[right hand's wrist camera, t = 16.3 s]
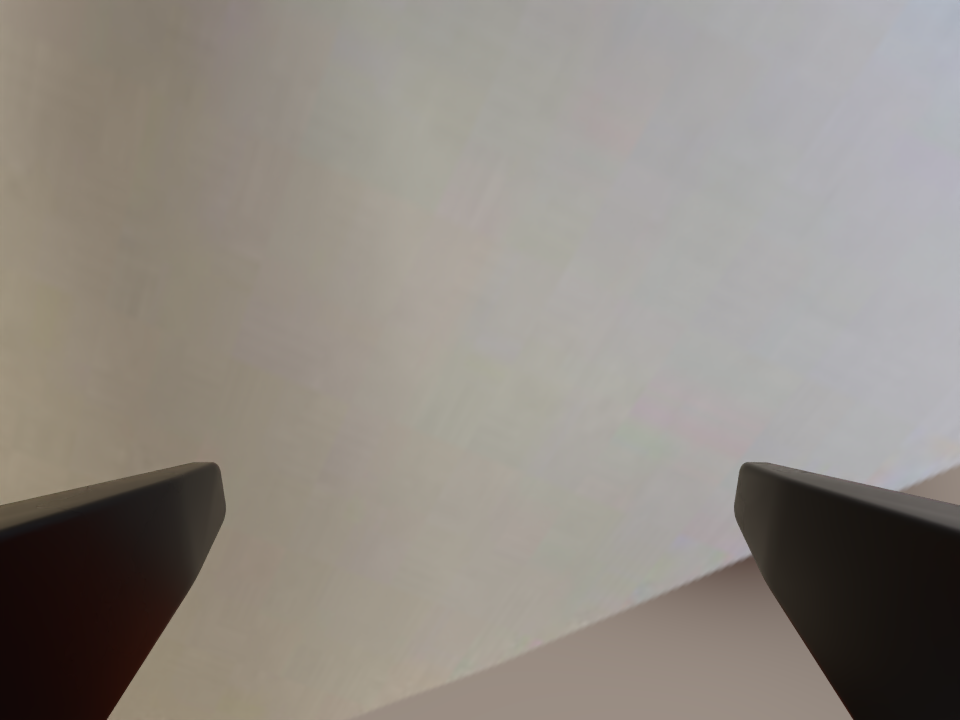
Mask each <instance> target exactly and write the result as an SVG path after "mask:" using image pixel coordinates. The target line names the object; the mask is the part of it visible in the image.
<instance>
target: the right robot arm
mask: <svg viewBox="0 0 960 720" xmlns="http://www.w3.org/2000/svg"><path fill="white" fill-rule="evenodd" d="M225 512H226V503H225V497H224V490H223V484H222V477H221V471H220V468H219V466H218V465H217V464H216V463H214V462H194V463H189V464H184V465H180V466H175V467H171V468H166V469H162V470H157V471H153V472H148V473H144V474H139V475H135V476H130V477H126V478H121V479H117V480H112V481H108V482H103V483H99V484H94V485H90V486H85V487H81V488H76V489H72V490H67V491H63V492H59V493H54V494H50V495H45V496H41V497H36V498H32V499H27V500H23V501H18V502H14V503H9V504H5V505H0V720H107V718H108V717H109V715H110V714H111V712H112V711H113V709H114V707H115V706H116V704H117V703H118V701H119V700H120V698H121V696H122V695H123V693H124V692H125V690H126V689H127V687H128V686H129V684H130V682H131V681H132V679H133V678H134V676H135V675H136V673H137V671H138V670H139V668H140V667H141V665H142V664H143V662H144V660H145V659H146V657H147V656H148V654H149V653H150V651H151V649H152V648H153V646H154V645H155V643H156V642H157V640H158V638H159V637H160V635H161V634H162V632H163V631H164V629H165V628H166V626H167V624H168V623H169V621H170V620H171V618H172V617H173V615H174V613H175V612H176V610H177V609H178V607H179V606H180V604H181V602H182V601H183V599H184V598H185V596H186V595H187V593H188V591H189V590H190V588H191V586H192V585H193V583H194V581H195V580H196V578H197V576H198V574H199V572H200V570H201V568H202V566H203V563H204V561H205V559H206V557H207V555H208V553H209V551H210V549H211V546H212V544H213V542H214V540H215V538H216V536H217V534H218V532H219V529H220V527H221V525H222V523H223V521H224V517H225ZM734 512H735V517H736V521H737V523H738V525H739V527H740V529H741V532H742V534H743V536H744V538H745V540H746V542H747V544H748V546H749V549H750V551H751V553H752V555H753V557H754V559H755V561H756V563H757V565H758V568H759V570H760V572H761V574H762V576H763V578H764V580H765V581H766V583H767V585H768V586H769V588H770V590H771V591H772V593H773V595H774V596H775V598H776V599H777V601H778V602H779V604H780V605H781V607H782V609H783V610H784V612H785V613H786V615H787V616H788V618H789V620H790V621H791V623H792V624H793V626H794V627H795V629H796V631H797V632H798V634H799V635H800V637H801V638H802V640H803V641H804V643H805V645H806V646H807V648H808V649H809V651H810V653H811V654H812V656H813V657H814V659H815V660H816V662H817V663H818V665H819V667H820V668H821V670H822V671H823V673H824V674H825V676H826V678H827V679H828V681H829V682H830V684H831V685H832V687H833V689H834V690H835V692H836V693H837V695H838V696H839V698H840V699H841V701H842V703H843V704H844V706H845V707H846V709H847V711H848V712H849V714H850V715H851V717H852V718H853V720H960V505H955V504H951V503H947V502H942V501H938V500H933V499H929V498H924V497H920V496H915V495H911V494H906V493H902V492H897V491H893V490H888V489H884V488H879V487H875V486H870V485H866V484H861V483H857V482H852V481H848V480H843V479H839V478H834V477H830V476H825V475H821V474H816V473H812V472H807V471H803V470H798V469H794V468H789V467H785V466H780V465H776V464H771V463H766V462H746V463H744V464H743V465H742V466H741V468H740V471H739V477H738V484H737V490H736V497H735V503H734Z"/></svg>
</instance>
